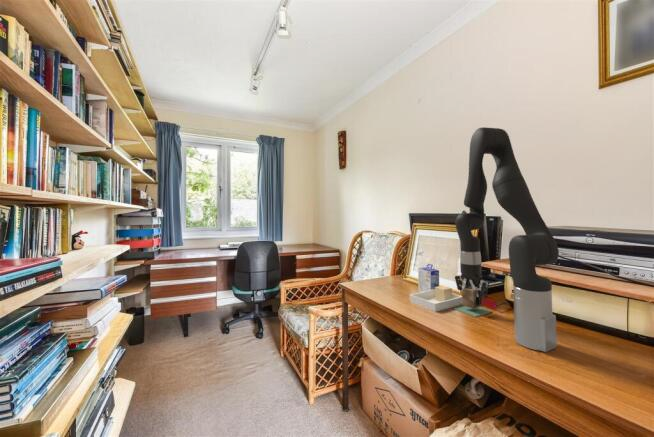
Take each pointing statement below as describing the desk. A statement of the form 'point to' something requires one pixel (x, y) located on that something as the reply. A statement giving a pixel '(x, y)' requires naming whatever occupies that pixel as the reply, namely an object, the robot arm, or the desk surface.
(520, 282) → the robot arm
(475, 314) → the felt mat
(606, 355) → the desk surface
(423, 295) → the bin
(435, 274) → the ink cartridge box
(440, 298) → the kraft block
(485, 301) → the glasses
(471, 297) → the labelled block
